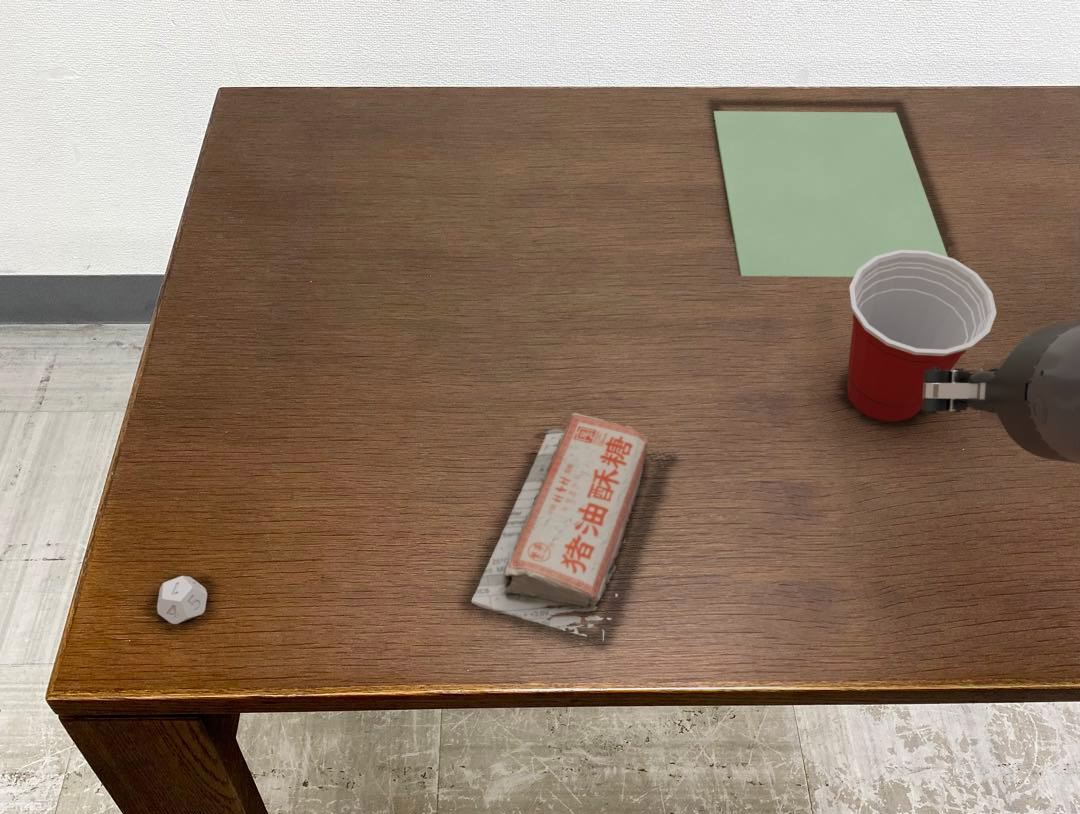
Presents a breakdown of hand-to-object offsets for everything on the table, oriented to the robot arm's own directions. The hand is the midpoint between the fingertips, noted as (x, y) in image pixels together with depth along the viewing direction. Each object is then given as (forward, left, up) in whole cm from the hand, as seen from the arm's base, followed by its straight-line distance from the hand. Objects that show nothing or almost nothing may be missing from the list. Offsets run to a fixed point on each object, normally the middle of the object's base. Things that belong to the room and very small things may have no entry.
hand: (966, 390), depth 69 cm
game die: (+54, +10, -13) cm, 57 cm away
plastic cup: (0, -11, -13) cm, 18 cm away
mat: (0, -39, -13) cm, 41 cm away
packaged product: (+26, +3, -13) cm, 30 cm away
